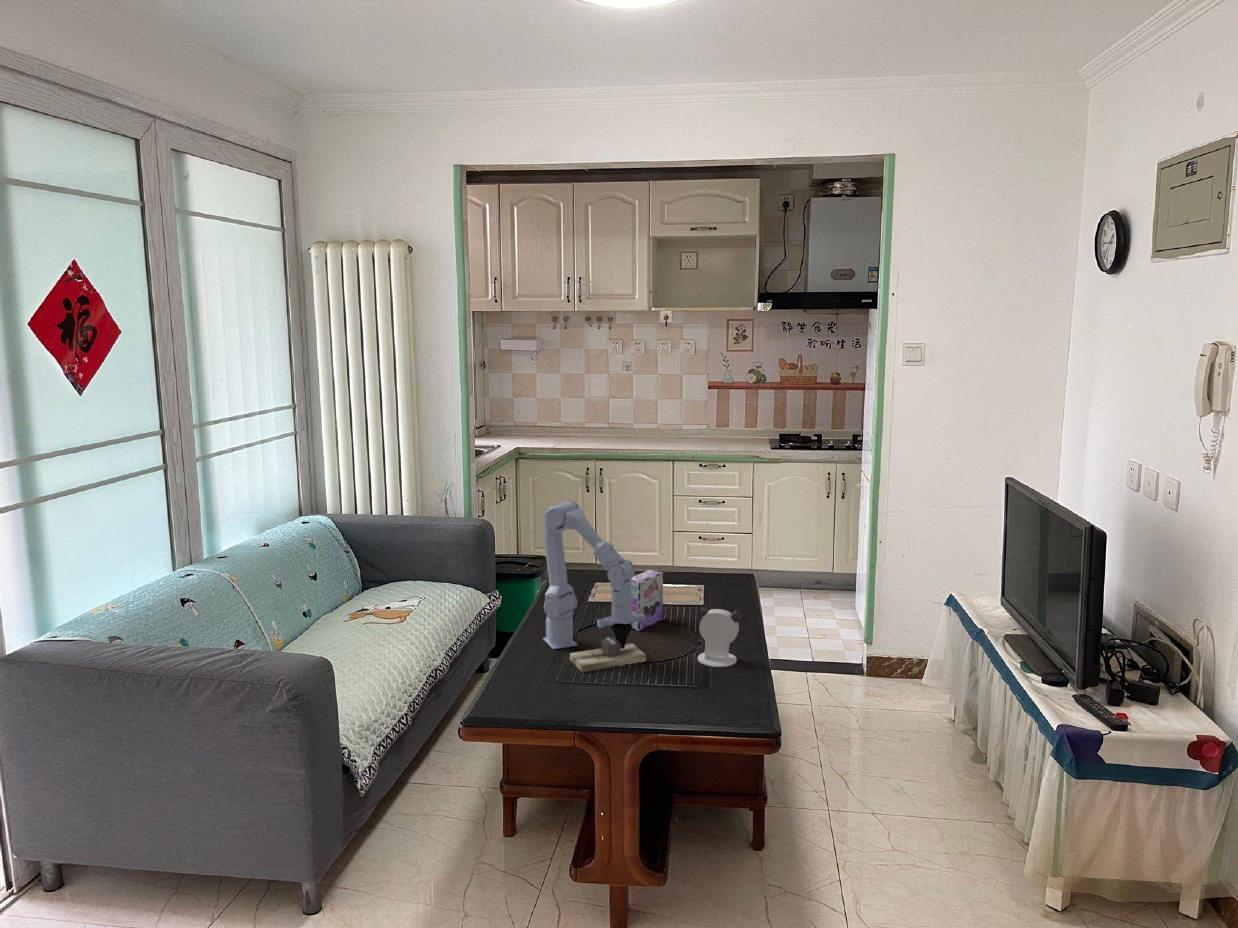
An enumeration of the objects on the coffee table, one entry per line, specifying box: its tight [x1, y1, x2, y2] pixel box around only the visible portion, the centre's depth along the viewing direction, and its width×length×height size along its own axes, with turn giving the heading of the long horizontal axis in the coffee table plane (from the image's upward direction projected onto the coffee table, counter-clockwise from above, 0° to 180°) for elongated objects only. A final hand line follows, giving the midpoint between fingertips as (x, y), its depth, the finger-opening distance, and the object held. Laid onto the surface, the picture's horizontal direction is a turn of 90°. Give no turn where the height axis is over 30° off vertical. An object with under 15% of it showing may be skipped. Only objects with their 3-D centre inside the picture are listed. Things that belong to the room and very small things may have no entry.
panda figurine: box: [697, 606, 742, 668], centre depth 256 cm, size 12×11×15 cm
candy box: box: [630, 569, 664, 632], centre depth 286 cm, size 14×6×16 cm, turn 143°
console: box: [569, 643, 647, 673], centre depth 256 cm, size 10×20×2 cm, turn 114°
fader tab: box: [600, 636, 621, 656], centre depth 256 cm, size 5×4×4 cm
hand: (621, 647), depth 257 cm, fingers closed
